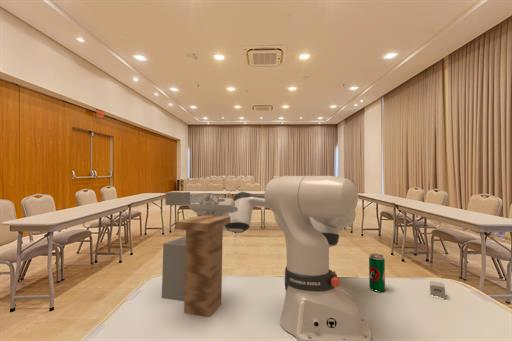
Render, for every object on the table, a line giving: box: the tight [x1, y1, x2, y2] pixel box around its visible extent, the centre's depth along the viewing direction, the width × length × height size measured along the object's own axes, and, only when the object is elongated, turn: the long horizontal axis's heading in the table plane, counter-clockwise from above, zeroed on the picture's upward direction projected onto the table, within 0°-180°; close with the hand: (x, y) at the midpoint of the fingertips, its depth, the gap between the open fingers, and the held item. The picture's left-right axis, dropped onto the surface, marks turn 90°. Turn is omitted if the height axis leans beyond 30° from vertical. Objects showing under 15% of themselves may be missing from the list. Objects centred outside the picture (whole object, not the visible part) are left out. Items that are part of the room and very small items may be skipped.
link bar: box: [164, 191, 213, 206], centre depth 96 cm, size 6×26×4 cm, turn 165°
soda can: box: [368, 253, 386, 292], centre depth 93 cm, size 5×5×12 cm
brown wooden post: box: [174, 215, 230, 318], centre depth 78 cm, size 10×16×26 cm, turn 165°
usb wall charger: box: [429, 280, 446, 299], centre depth 89 cm, size 4×7×4 cm, turn 149°
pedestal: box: [161, 235, 186, 302], centre depth 91 cm, size 8×16×17 cm, turn 165°
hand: (204, 195), depth 105 cm, fingers closed on link bar, 3 cm apart
